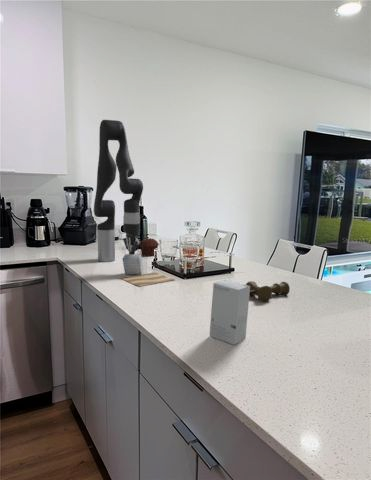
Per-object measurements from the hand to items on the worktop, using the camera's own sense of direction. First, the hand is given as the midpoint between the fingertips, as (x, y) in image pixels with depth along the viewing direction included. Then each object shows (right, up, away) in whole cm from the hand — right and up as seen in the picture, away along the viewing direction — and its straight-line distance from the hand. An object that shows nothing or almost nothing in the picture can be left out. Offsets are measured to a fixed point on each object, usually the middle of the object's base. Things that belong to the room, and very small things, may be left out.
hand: (132, 259), depth 154 cm
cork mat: (+8, -8, -10) cm, 15 cm away
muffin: (+3, 0, +46) cm, 47 cm away
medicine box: (+1, -6, -1) cm, 6 cm away
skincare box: (+37, -17, -66) cm, 78 cm away
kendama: (+55, -13, -31) cm, 64 cm away
